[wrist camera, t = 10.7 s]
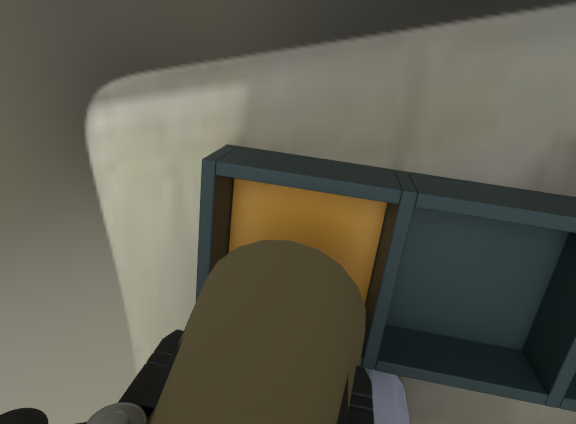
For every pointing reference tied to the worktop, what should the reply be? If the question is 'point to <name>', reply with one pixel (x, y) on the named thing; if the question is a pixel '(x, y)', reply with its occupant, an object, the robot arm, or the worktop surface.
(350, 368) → the cork
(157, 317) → the worktop surface
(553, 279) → the tray
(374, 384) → the soap bottle
